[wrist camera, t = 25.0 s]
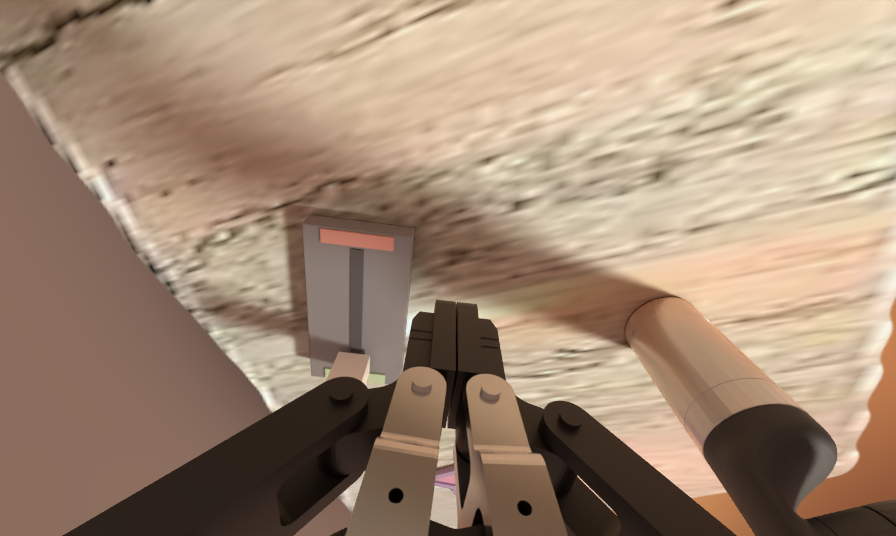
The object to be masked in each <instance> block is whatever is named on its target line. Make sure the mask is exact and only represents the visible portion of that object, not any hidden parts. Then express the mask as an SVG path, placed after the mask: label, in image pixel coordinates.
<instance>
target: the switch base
mask: <svg viewBox="0 0 896 536" xmlns="http://www.w3.org/2000/svg"><path fill="white" fill-rule="evenodd" d="M302 225H303V242H304V260H305V277H306V294H307V311H308V329H309V346H310V363H311V376H318V377H325V378H328V375H329V373H330V371H331V368H332V366H333V364H334V361H335V359H336V357H337V355H338V352H347V353H356V354H364V355H370V372H369V376H368V379H367V382H368V383H377V384H391V383H393V382H394V381H396V380H397V379H398V378H399V376H400V375H401V374H402V367H403V357H404V346H405V335H406V324H407V313H408V303H409V292H410V281H411V270H412V260H413V249H414V238H415V228H412V227H404V226H396V225H388V224H380V223H372V222H364V221H356V220H349V219H341V218H333V217H325V216H317V215H311V216H310V217H309V218H308V219H307V220H306V221H305V222H304V223H303V224H302Z"/></svg>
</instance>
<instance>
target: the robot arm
mask: <svg viewBox="0 0 896 536" xmlns="http://www.w3.org/2000/svg"><path fill="white" fill-rule="evenodd" d="M625 334H626V339H627V342H628V343H629V345H630V346H631V348H632V349H633V351H634V352H635V354H636V355H637V357H638V358H639V360H640V362H641V363H642V365H643V366H644V368H645V369H646V371H647V372H648V374H649V375H650V377H651V378H652V380H653V381H654V383H655V384H656V386H657V387H658V389H659V390H660V392H661V393H662V395H663V396H664V398H665V400H666V401H667V403H668V404H669V406H670V407H671V409H672V410H673V412H674V413H675V415H676V416H677V418H678V419H679V421H680V422H681V424H682V425H683V427H684V428H685V430H686V431H687V433H688V434H689V436H690V437H691V439H692V440H693V442H694V443H695V445H696V446H697V448H698V449H699V451H700V452H701V454H702V455H703V457H704V458H705V460H706V461H707V463H708V464H709V466H710V467H711V469H712V470H713V471H714V473H715V474H716V476H717V477H718V479H719V480H720V482H721V483H722V485H723V487H724V488H725V490H726V491H727V493H728V494H729V495H730V497H731V498H732V500H733V502H734V503H735V505H736V506H737V508H738V509H739V511H740V512H741V514H742V516H743V517H744V519H745V520H746V522H747V523H748V525H749V526H750V528H751V529H752V531H753V533H754V534H755V536H896V500H888V501H882V502H877V503H872V504H868V505H864V506H860V507H855V508H851V509H847V510H843V511H838V512H834V513H830V514H826V515H822V516H817V517H813V518H810V519H803V518H801V517H800V516H799V515H797V513H796V512H795V511H796V509H797V507H798V506H799V504H800V502H801V501H802V500H803V499H804V498H805V497H806V496H807V495H808V494H809V493H810V492H811V491H812V490H813V489H815V488H816V487H817V486H818V485H819V484H820V483H822V482H823V481H824V480H825V479H826V478H827V476H828V475H829V474H830V473H831V471H832V470H833V468H834V466H835V464H836V461H837V448H836V444H835V442H834V441H833V439H832V438H831V436H830V435H829V434H828V432H827V431H826V430H825V429H824V428H823V427H822V426H821V425H820V424H818V423H817V422H816V421H815V420H814V419H813V418H812V417H811V416H810V415H809V414H808V413H807V412H806V411H805V410H804V409H803V408H801V407H800V406H799V405H798V404H797V403H796V402H795V401H794V400H793V399H792V398H791V397H790V396H789V395H788V394H787V393H786V392H784V391H783V390H782V389H781V388H780V387H779V386H778V385H777V384H776V383H775V382H774V381H773V380H771V379H770V378H769V377H768V376H767V375H766V374H765V373H764V372H763V371H762V370H761V369H760V368H759V367H758V366H757V365H756V364H754V363H753V362H752V361H751V360H750V359H749V358H748V357H747V356H746V355H745V354H744V353H743V352H742V351H741V350H740V349H739V348H737V347H736V346H735V345H734V344H733V343H732V342H731V341H730V340H729V339H728V338H727V337H726V336H725V335H724V334H723V333H722V332H720V331H719V330H718V329H717V328H716V327H715V326H714V325H713V324H712V323H711V322H710V321H709V320H708V319H707V318H706V317H705V316H704V315H703V314H701V313H700V312H699V311H698V310H697V309H696V308H695V307H694V306H693V305H692V304H691V303H690V302H688V301H686V300H684V299H680V298H676V297H666V298H659V299H656V300H653V301H651V302H648V303H646V304H645V305H643V306H642V307H640V308H639V309H638V310H637V311H635V312H634V313H633V315H632V316H631V317H630V319H629V321H628V323H627V325H626V330H625ZM447 416H448V428H451V429H456V440H455V445H454V449H453V460H454V473H455V487H456V500H457V514H458V526H457V529H453V528H450V527H447V526H444V525H442V524H439V523H437V522H434V521H432V520H430V516H431V508H432V500H433V493H434V485H435V477H436V470H437V462H438V454H439V442H440V436H441V430H442V428H445V427H446V422H447ZM365 470H366V471H365ZM364 471H365V474H364V478H363V481H362V484H361V487H360V490H359V493H358V497H357V500H356V503H355V506H354V509H353V513H352V516H351V519H350V522H349V525H348V527H347V528H344V529H342V530H340V531H338V532H336V533H334V534H332V535H330V536H736V535H735V534H734V533H733V532H732V531H730V530H729V529H728V528H727V527H726V526H724V525H723V524H722V523H721V522H720V521H718V520H717V519H716V518H715V517H713V516H712V515H711V514H710V513H709V512H707V511H706V510H705V509H704V508H702V507H701V506H700V505H699V504H697V503H696V502H695V501H694V500H693V499H692V498H690V497H689V496H688V495H687V494H685V493H684V492H683V491H682V490H681V489H679V488H678V487H677V486H676V485H675V484H673V483H672V482H671V481H670V480H668V479H667V478H666V477H665V476H664V475H662V474H661V473H660V472H659V471H657V470H656V469H655V468H654V467H653V466H651V465H650V464H649V463H648V462H647V461H645V460H644V459H643V458H642V457H640V456H639V455H638V454H637V453H636V452H634V451H633V450H632V449H631V448H629V447H628V446H627V445H626V444H625V443H623V442H622V441H621V440H620V439H619V438H617V437H616V436H615V435H614V434H612V433H611V432H610V431H609V430H608V429H606V428H605V427H604V426H603V425H601V424H600V423H599V422H598V421H597V420H595V419H594V418H593V417H592V416H591V415H589V414H588V413H587V412H586V411H584V410H583V409H582V408H580V407H579V406H577V405H575V404H573V403H570V402H566V401H554V402H551V403H549V404H548V405H547V406H546V407H545V409H542V408H540V407H537V406H534V405H532V404H529V403H527V402H525V401H523V400H521V399H520V398H518V397H517V396H516V395H515V393H514V391H513V389H512V387H511V386H510V384H509V383H508V382H506V379H505V373H504V367H503V361H502V355H501V350H500V343H499V337H498V331H497V328H496V327H495V326H494V324H493V323H492V322H491V320H488V319H480V318H478V308H477V304H469V303H461V302H457V304H456V302H452V301H444V300H436V303H435V310H434V313H428V312H419V313H418V314H417V315H416V316H415V317H414V318H413V320H412V325H411V331H410V336H409V341H408V347H407V352H406V358H405V363H404V369H403V372H402V374H401V375H400V376H399V378H398V379H397V380H396V381H394V382H393V383H391V384H389V385H386V386H383V387H378V388H372V389H368V388H367V387H366V385H365V384H364V383H363V382H362V381H360V380H358V379H356V378H353V377H337V378H333V379H330V380H328V381H326V382H324V383H323V384H321V385H319V386H317V387H316V388H314V389H312V390H311V391H309V392H307V393H305V394H304V395H302V396H300V397H299V398H297V399H295V400H294V401H292V402H290V403H288V404H287V405H285V406H283V407H282V408H280V409H278V410H276V411H275V412H273V413H271V414H270V415H268V416H266V417H264V418H263V419H261V420H259V421H258V422H256V423H254V424H253V425H251V426H249V427H247V428H246V429H244V430H242V431H241V432H239V433H237V434H236V435H234V436H232V437H230V438H229V439H227V440H225V441H224V442H222V443H220V444H218V445H217V446H215V447H214V448H212V449H210V450H208V451H206V452H205V453H203V454H202V455H200V456H198V457H196V458H195V459H193V460H191V461H189V462H188V463H186V464H184V465H183V466H181V467H179V468H178V469H176V470H174V471H172V472H171V473H169V474H167V475H165V476H164V477H162V478H160V479H159V480H157V481H155V482H154V483H152V484H150V485H148V486H147V487H145V488H143V489H142V490H140V491H138V492H136V493H135V494H133V495H131V496H130V497H128V498H126V499H125V500H123V501H121V502H119V503H118V504H116V505H114V506H113V507H111V508H109V509H108V510H106V511H104V512H102V513H101V514H99V515H97V516H96V517H94V518H92V519H90V520H89V521H87V522H85V523H84V524H82V525H80V526H78V527H77V528H75V529H73V530H72V531H70V532H68V533H66V534H65V535H63V536H293V535H295V534H296V533H297V532H298V531H299V530H300V529H301V528H303V527H304V526H305V525H306V524H307V523H308V522H309V521H310V520H312V519H313V518H314V517H315V516H316V515H317V514H319V513H320V512H321V511H322V510H323V509H324V508H325V507H327V506H328V505H329V504H330V503H331V502H332V501H334V500H335V499H336V498H337V497H338V496H339V495H340V494H342V493H343V492H344V491H345V490H346V489H347V488H348V487H350V486H351V485H352V484H353V483H354V482H355V481H356V480H357V479H358V478H359V477H360V476H361V475H362V474H363V472H364ZM577 475H578V476H579V477H580V478H581V479H582V480H583V481H584V482H585V483H586V484H587V485H588V486H589V487H590V488H591V489H592V490H593V491H594V492H595V493H596V494H597V495H598V496H599V497H600V498H601V499H602V500H604V501H605V502H606V503H607V504H608V505H609V506H610V507H611V508H612V509H613V511H614V512H615V513H616V514H617V515H616V514H614V513H613V512H612V511H611V510H610V509H609V508H608V507H607V506H606V505H605V504H604V503H603V502H602V501H601V500H600V499H599V498H598V497H597V496H596V495H595V494H594V493H593V492H592V491H591V490H590V489H589V488H588V487H587V486H586V485H585V484H584V483H583V482H582V481H581V480H580V479H579V478H578V477H577Z"/></svg>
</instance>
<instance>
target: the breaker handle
mask: <svg viewBox="0 0 896 536" xmlns="http://www.w3.org/2000/svg"><path fill="white" fill-rule="evenodd" d="M369 372H370V355H364V354H356V353H347V352H338V355H337V357H336V359H335V361H334V364H333V366H332V368H331V371H330V373H329V375H328V378H327V380H326V381H328V380H330V379H333V378H337V377H353V378H356V379H358V380H360V381H362V382H363V383H364V384H365V385H366V383H367V379H368V376H369Z"/></svg>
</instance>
